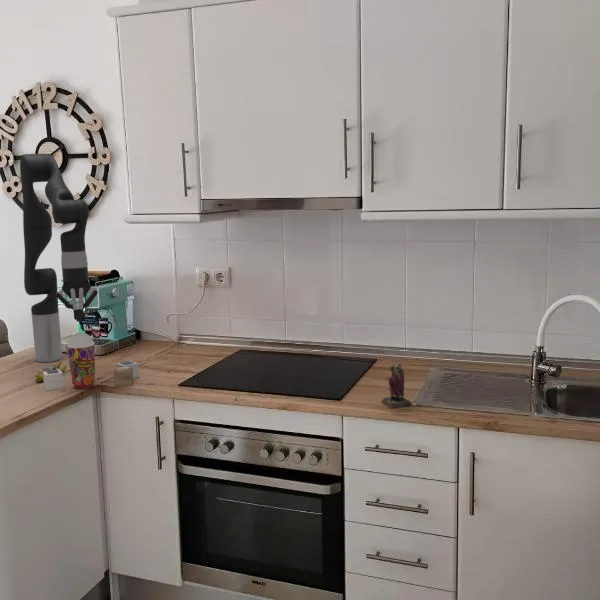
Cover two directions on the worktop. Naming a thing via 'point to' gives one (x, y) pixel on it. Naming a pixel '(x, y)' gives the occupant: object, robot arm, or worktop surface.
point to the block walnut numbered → (123, 376)
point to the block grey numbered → (130, 364)
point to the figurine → (396, 389)
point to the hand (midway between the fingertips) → (79, 321)
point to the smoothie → (82, 359)
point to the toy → (54, 367)
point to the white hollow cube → (53, 379)
